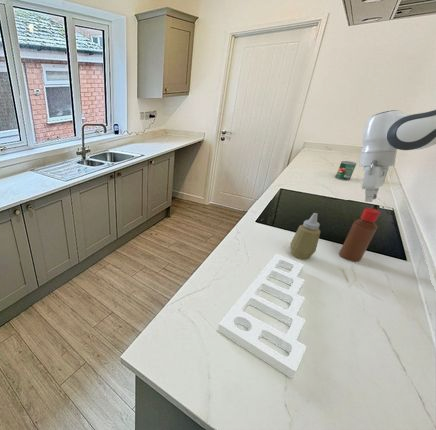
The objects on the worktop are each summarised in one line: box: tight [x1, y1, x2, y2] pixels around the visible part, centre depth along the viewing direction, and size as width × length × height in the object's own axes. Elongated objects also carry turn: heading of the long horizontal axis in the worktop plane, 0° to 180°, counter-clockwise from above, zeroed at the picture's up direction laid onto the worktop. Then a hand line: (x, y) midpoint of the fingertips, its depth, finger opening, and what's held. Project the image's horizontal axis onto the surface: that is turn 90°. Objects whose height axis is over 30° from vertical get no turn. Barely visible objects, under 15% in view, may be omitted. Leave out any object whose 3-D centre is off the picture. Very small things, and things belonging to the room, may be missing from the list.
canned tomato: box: [335, 160, 357, 181], centre depth 175 cm, size 8×8×11 cm
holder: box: [216, 253, 307, 379], centre depth 78 cm, size 45×18×3 cm, turn 134°
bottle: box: [338, 217, 378, 263], centre depth 95 cm, size 6×6×19 cm
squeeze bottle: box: [289, 212, 321, 261], centre depth 96 cm, size 8×8×18 cm
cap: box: [360, 207, 381, 223], centre depth 91 cm, size 4×4×4 cm
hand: (370, 200), depth 93 cm, fingers open, 8 cm apart
